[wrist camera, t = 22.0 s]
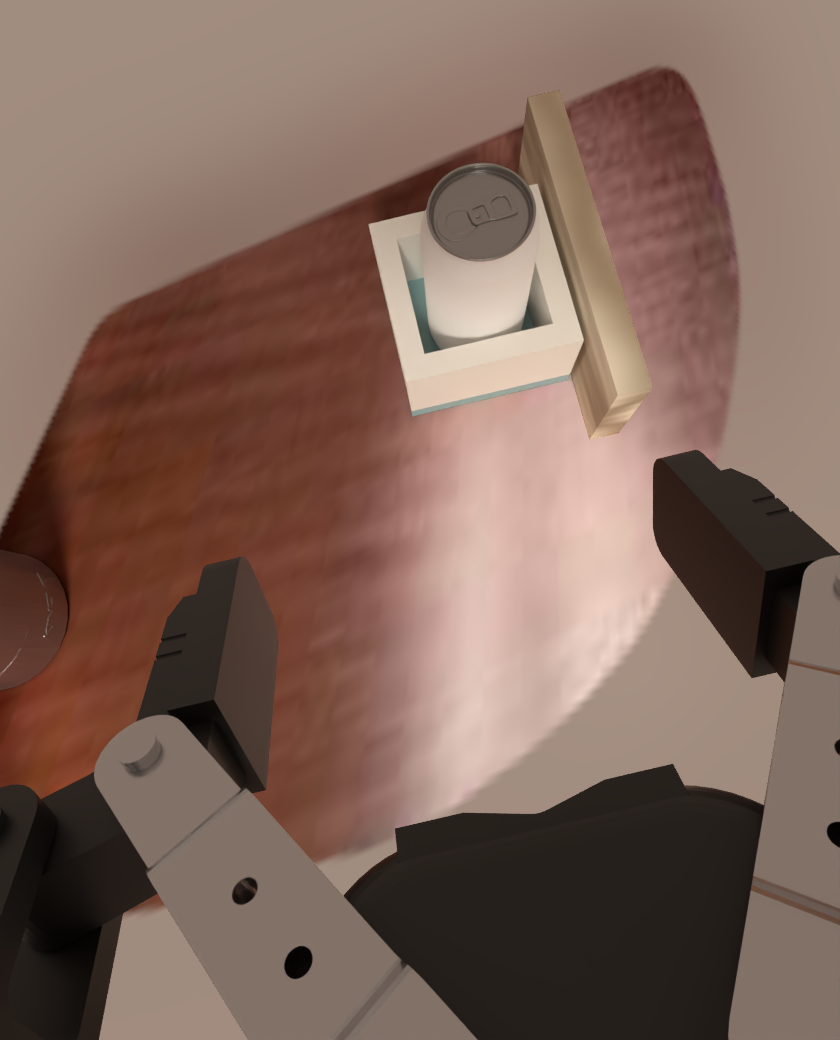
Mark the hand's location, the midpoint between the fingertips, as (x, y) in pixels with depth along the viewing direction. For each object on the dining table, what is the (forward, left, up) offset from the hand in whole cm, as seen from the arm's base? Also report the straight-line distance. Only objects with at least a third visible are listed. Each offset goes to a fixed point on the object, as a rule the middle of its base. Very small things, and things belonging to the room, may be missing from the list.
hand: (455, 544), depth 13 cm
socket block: (+6, +19, -30) cm, 36 cm away
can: (+6, +19, -29) cm, 36 cm away
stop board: (+12, +19, -30) cm, 38 cm away
